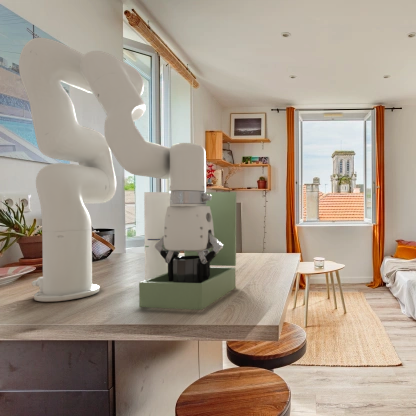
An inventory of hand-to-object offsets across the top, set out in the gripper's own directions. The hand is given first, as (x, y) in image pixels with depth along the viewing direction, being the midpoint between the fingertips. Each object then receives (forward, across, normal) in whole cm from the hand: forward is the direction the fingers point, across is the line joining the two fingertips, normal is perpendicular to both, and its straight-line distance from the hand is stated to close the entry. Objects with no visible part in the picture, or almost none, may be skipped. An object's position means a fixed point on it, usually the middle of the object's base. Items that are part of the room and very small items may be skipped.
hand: (188, 279), depth 72 cm
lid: (-11, 0, -10) cm, 15 cm away
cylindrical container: (+5, +16, -14) cm, 22 cm away
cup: (+4, 0, 0) cm, 4 cm away
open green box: (+5, 0, -2) cm, 5 cm away
